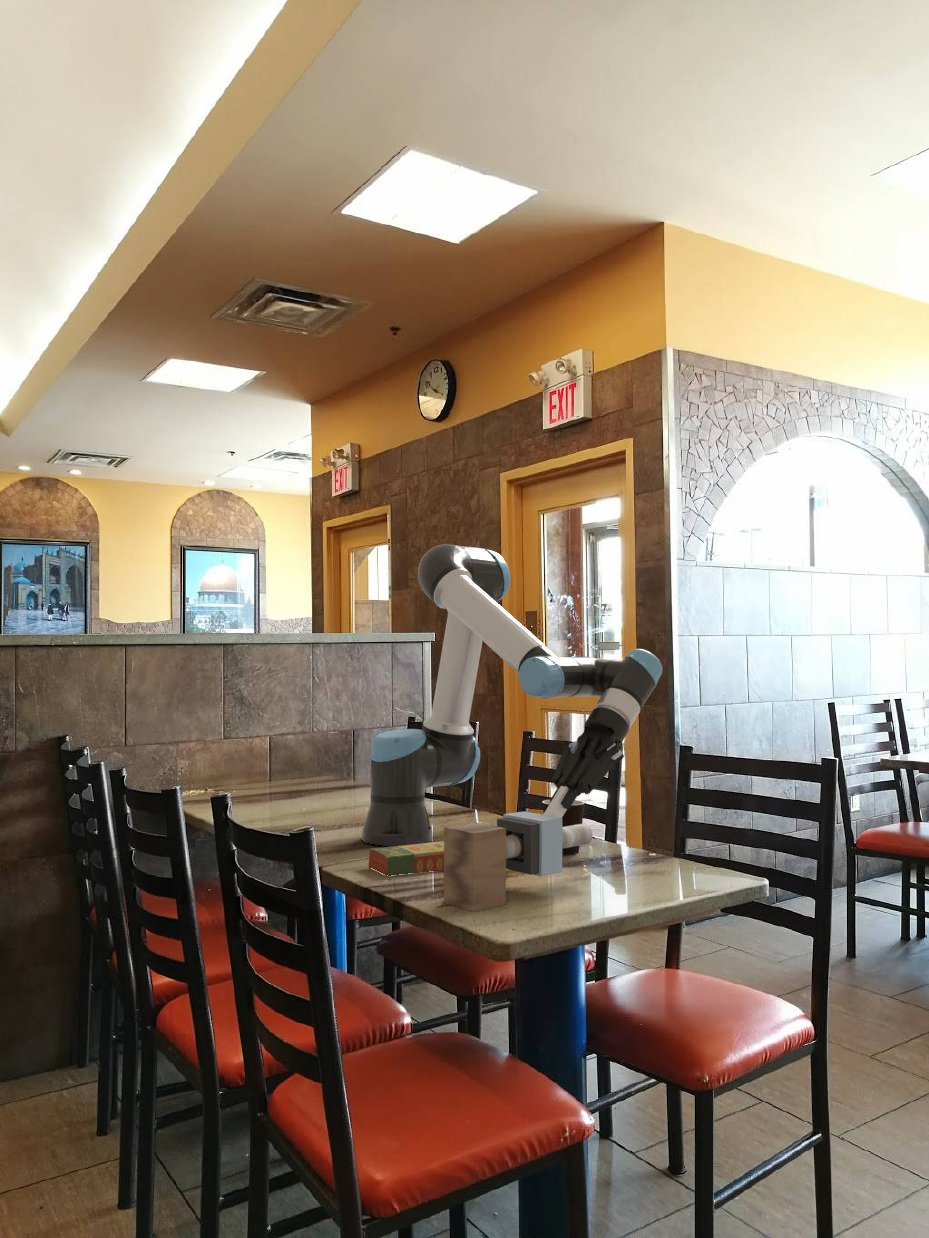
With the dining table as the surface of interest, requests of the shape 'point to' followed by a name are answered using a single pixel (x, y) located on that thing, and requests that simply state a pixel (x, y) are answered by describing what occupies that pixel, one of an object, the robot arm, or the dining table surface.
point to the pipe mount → (487, 862)
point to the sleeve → (545, 840)
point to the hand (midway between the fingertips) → (549, 820)
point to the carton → (408, 858)
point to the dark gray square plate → (530, 845)
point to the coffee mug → (570, 821)
